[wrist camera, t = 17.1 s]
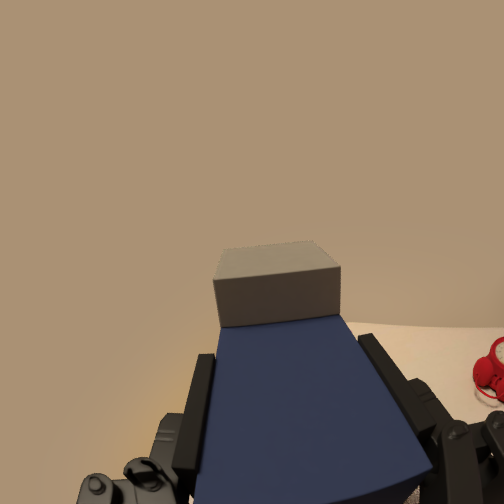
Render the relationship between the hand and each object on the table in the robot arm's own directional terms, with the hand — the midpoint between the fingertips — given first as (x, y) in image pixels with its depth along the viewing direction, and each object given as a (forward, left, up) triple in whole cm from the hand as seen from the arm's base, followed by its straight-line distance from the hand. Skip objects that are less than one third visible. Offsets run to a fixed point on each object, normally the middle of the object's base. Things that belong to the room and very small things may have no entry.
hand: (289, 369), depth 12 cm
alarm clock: (+33, -4, -18) cm, 38 cm away
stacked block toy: (0, +1, -6) cm, 6 cm away
